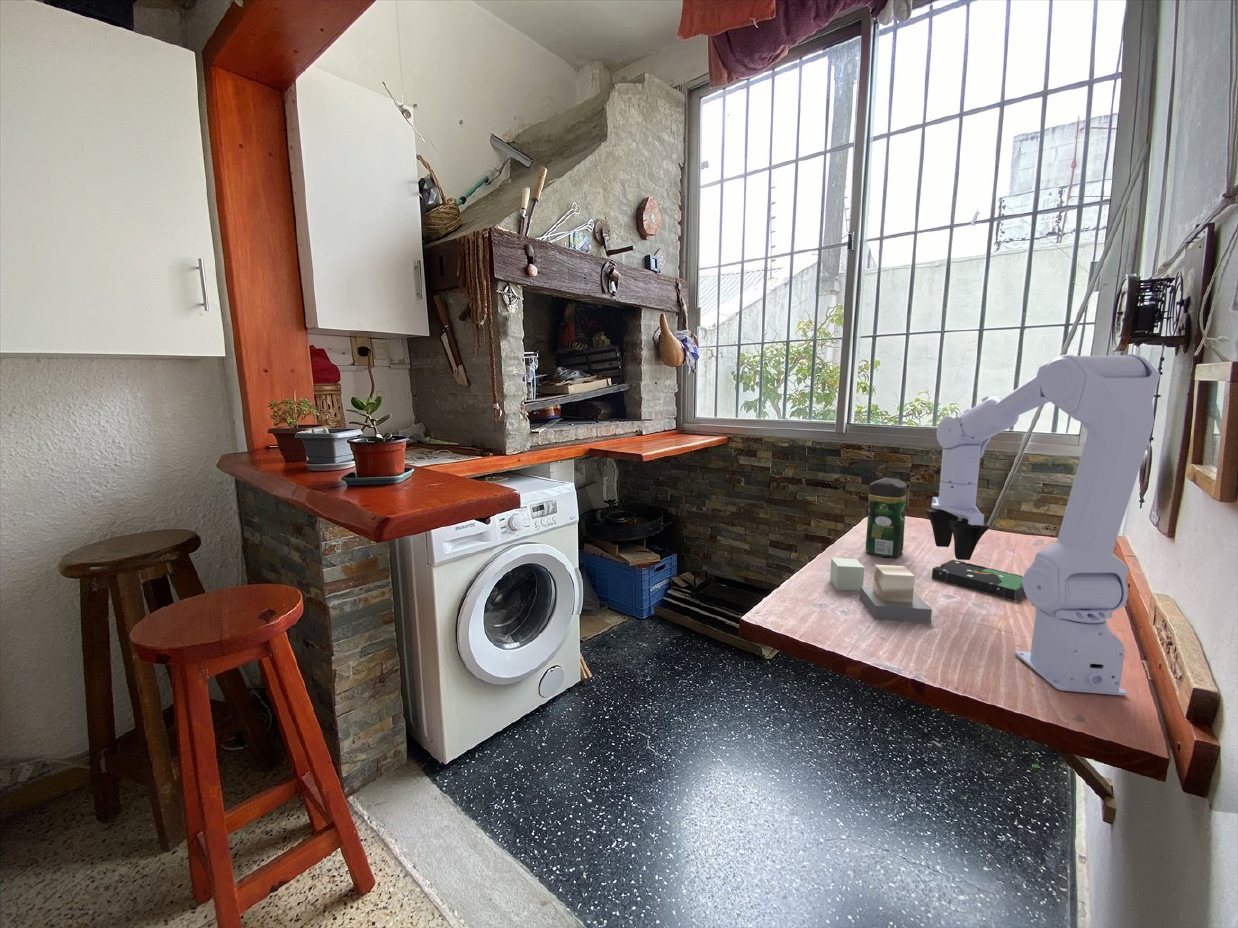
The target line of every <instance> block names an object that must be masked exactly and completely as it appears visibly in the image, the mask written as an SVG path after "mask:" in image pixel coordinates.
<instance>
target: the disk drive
mask: <svg viewBox="0 0 1238 928" xmlns="http://www.w3.org/2000/svg"><path fill="white" fill-rule="evenodd" d="M1023 577H1024V575H1020V574H1016V573H1012V572H1011V573H1010V572H1007V571H1003V570H998V569H994V568H991V567H986V566H981V565H978V564H973V563H969V562H965V561H963V560H958V559H956V560H955V559H950V560H948V561H946V562H943V563H942V564H941V565H940V566H935V567H933V568H932V571H931V579H934V580H937V581H940V582H944V583H948V584H952V585H956V586H958V587H963V588H966V589H969V590H974V591H978V592H981V593H984V594H988V595H992V596H995V597H999V598H1002V599H1006V600H1010V601H1013V602H1016V601H1018V600H1020V599H1021V598H1023V597H1024V595H1025V596H1026V594H1025V592H1024V588H1023Z"/></svg>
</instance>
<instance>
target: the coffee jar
mask: <svg viewBox="0 0 1238 928" xmlns="http://www.w3.org/2000/svg"><path fill="white" fill-rule="evenodd" d="M907 493H908V486H907V483H906V482H904V481H903V480H902V479H901V478H895V477H894V478H892V477H883V478H881V479H877V480H875V481H873V482H871V483H870V484H869V486H868V503H867V505H868V506H867V507H868V509H867V521H866V522H867V524H866V535H865V536H866V537H865V538H866V539H865V551H866V552H867V553H869V554H872V555H874V556H877V557H881V558H885V557H888V558H889V557H891V558H895V557H898V556H900V555H901V554H902V552H903V550H904V543H905V542H904V541H905V538H904V537H905V522H906V507H907Z"/></svg>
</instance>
